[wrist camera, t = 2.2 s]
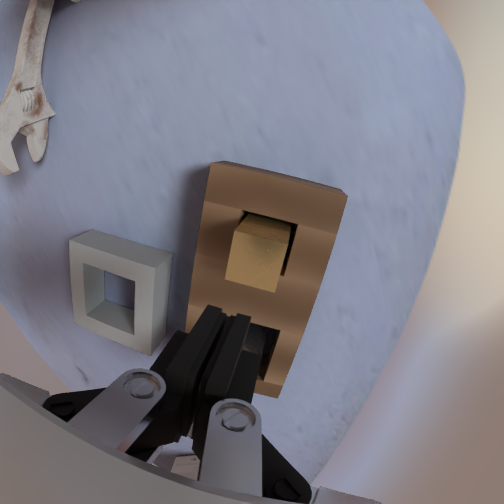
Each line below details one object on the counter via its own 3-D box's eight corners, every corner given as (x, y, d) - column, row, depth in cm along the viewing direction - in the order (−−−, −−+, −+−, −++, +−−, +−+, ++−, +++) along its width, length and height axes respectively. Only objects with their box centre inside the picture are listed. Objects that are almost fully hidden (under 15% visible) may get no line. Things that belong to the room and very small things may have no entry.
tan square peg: (249, 212, 21) (234, 230, 17) (291, 223, 21) (287, 244, 16) (241, 251, 22) (224, 279, 18) (281, 262, 22) (274, 292, 17)
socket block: (224, 160, 22) (211, 162, 19) (341, 189, 22) (347, 196, 18) (192, 348, 29) (180, 370, 25) (281, 373, 28) (277, 398, 25)
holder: (91, 229, 26) (69, 239, 23) (173, 253, 26) (155, 268, 22) (93, 307, 29) (74, 323, 26) (165, 335, 29) (150, 355, 25)
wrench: (82, -39, 19) (57, 170, 24) (71, -33, 19) (46, 174, 25) (47, -63, 11) (-5, 172, 17) (36, -55, 11) (-14, 177, 17)
